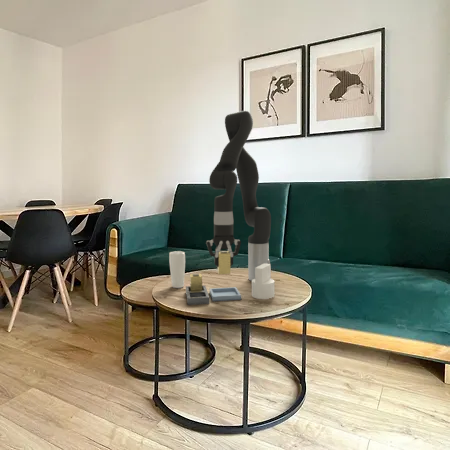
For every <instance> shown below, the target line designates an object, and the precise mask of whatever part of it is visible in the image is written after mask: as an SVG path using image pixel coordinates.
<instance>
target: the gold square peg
mask: <svg viewBox="0 0 450 450" xmlns="http://www.w3.org/2000/svg"><path fill="white" fill-rule="evenodd" d="M217 273H218V275H231V267H230V253H229V252H228V250H220V252H219V253H218V267H217Z"/></svg>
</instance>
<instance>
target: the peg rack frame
mask: <svg viewBox="0 0 450 450" xmlns="http://www.w3.org/2000/svg"><path fill="white" fill-rule="evenodd" d="M185 295H186V302H187V306H195V305H210V294H209V293H208V290H207V287H206V285H205V284H204V285H202V291H190V285H188V286H185Z"/></svg>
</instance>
